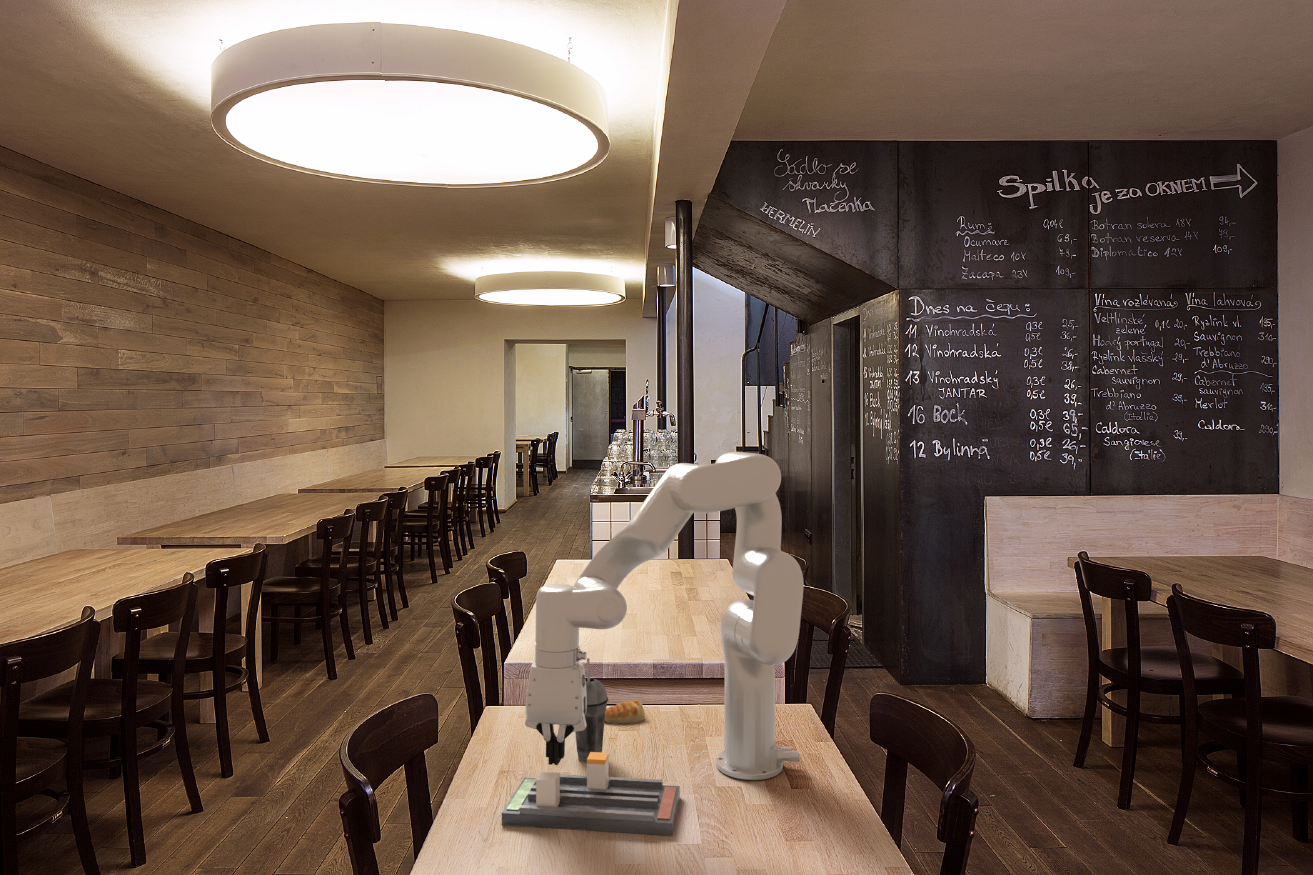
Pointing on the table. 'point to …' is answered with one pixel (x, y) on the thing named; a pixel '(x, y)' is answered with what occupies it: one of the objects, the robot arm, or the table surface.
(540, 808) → the gray rail tray
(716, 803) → the table surface
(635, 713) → the pastry
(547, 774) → the block
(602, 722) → the beverage cup
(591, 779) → the block
